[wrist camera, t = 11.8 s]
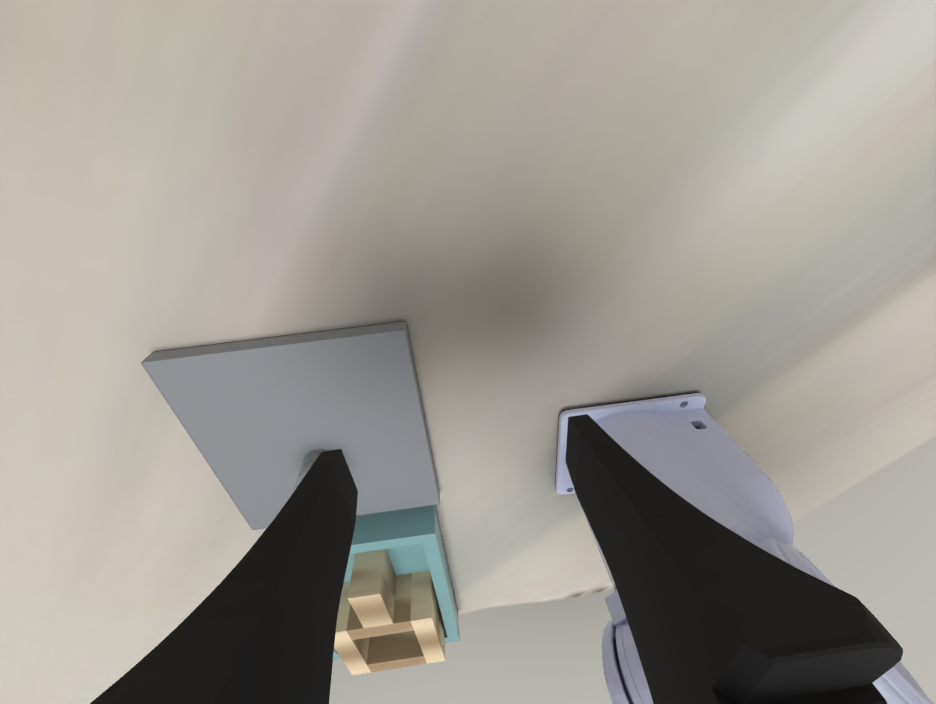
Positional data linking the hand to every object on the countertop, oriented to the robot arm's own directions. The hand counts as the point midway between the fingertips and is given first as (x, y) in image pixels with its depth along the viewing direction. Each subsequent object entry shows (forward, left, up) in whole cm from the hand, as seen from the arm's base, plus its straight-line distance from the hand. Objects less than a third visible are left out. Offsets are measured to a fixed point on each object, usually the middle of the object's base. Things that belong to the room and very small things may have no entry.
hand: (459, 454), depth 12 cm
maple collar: (+8, +24, -9) cm, 27 cm away
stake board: (+9, +7, -9) cm, 14 cm away
